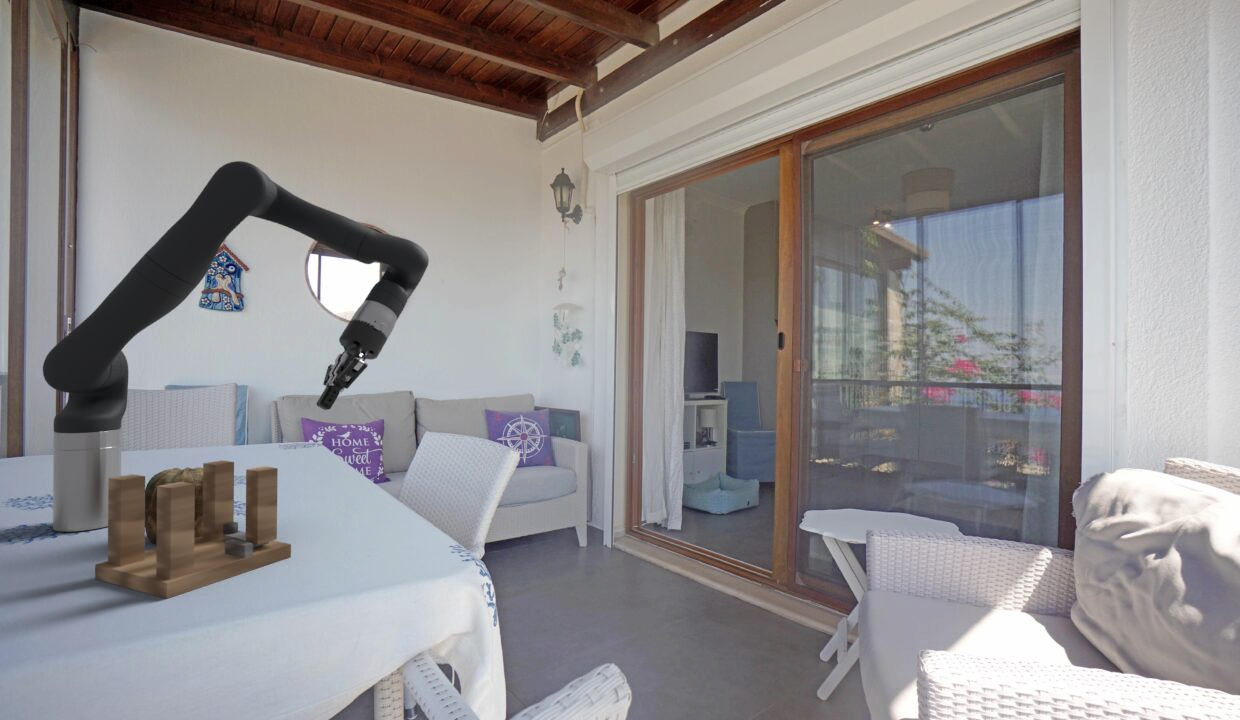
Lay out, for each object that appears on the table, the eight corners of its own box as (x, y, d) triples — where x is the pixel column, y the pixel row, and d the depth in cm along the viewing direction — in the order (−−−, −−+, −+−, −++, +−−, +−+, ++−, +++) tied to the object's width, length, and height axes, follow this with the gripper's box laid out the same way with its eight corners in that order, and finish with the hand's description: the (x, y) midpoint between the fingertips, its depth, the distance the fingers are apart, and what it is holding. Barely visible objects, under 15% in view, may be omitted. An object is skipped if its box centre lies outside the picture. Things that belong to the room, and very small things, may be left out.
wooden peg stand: (95, 578, 85) (95, 478, 85) (223, 542, 102) (223, 458, 102) (166, 598, 79) (167, 490, 79) (290, 556, 95) (291, 467, 95)
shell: (180, 549, 98) (181, 475, 98) (124, 544, 100) (125, 471, 100) (235, 530, 109) (236, 463, 108) (184, 526, 111) (184, 460, 111)
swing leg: (217, 539, 96) (217, 464, 96) (236, 534, 99) (237, 461, 99) (257, 549, 92) (258, 471, 91) (276, 544, 94) (277, 468, 94)
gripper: (338, 324, 121) (290, 400, 112) (367, 312, 112) (317, 393, 103) (370, 345, 125) (326, 419, 117) (401, 335, 116) (356, 415, 108)
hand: (322, 407), depth 110 cm, fingers closed
